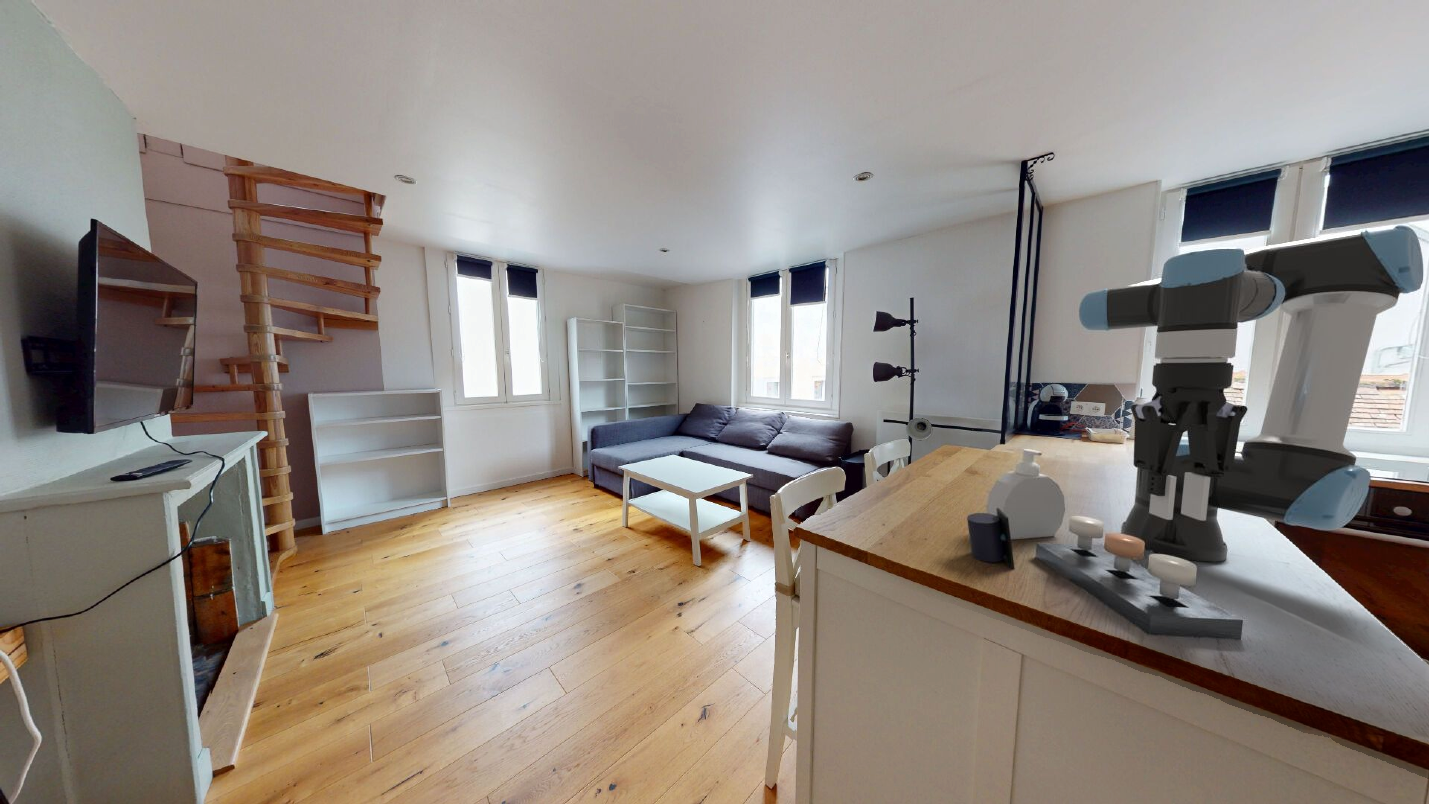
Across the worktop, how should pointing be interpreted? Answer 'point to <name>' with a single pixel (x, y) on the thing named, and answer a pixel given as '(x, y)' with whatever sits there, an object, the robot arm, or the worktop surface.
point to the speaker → (990, 537)
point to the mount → (1139, 594)
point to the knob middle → (1124, 549)
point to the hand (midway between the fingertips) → (1176, 516)
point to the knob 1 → (1086, 530)
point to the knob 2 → (1171, 573)
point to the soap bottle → (1028, 500)
